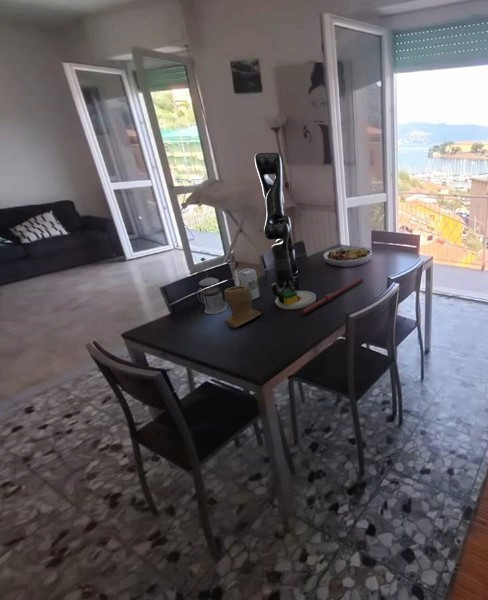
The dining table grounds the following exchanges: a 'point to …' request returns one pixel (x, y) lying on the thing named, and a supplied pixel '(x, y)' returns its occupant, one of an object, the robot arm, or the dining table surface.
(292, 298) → the sponge
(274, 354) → the dining table surface
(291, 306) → the plate
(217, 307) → the french press
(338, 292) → the rolling pin
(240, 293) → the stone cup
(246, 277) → the white canister
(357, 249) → the bowl
